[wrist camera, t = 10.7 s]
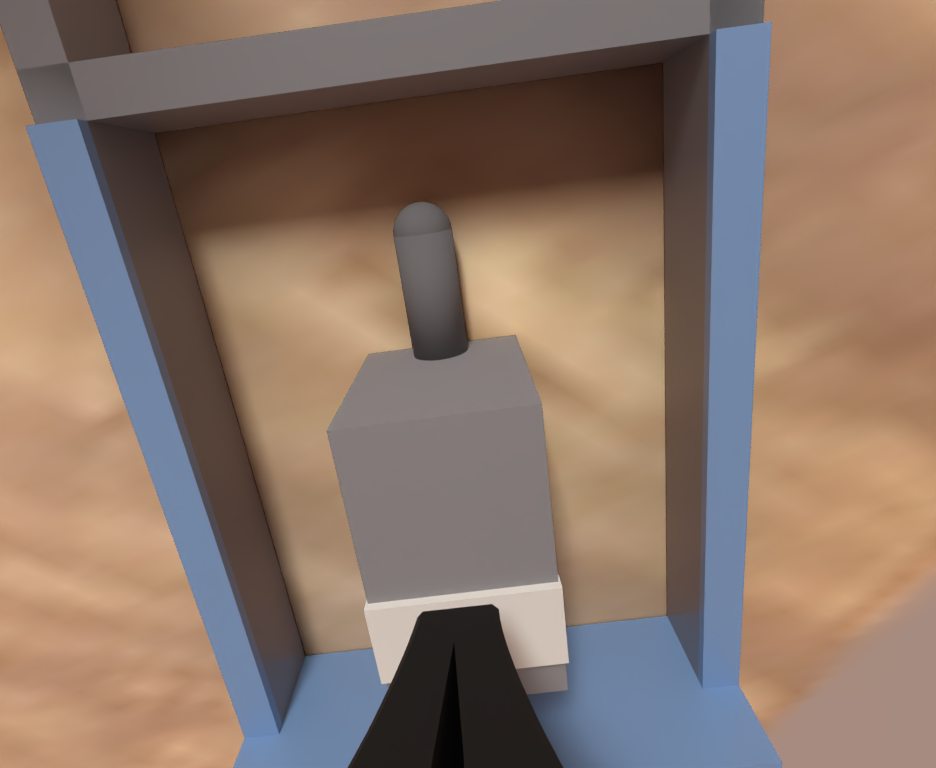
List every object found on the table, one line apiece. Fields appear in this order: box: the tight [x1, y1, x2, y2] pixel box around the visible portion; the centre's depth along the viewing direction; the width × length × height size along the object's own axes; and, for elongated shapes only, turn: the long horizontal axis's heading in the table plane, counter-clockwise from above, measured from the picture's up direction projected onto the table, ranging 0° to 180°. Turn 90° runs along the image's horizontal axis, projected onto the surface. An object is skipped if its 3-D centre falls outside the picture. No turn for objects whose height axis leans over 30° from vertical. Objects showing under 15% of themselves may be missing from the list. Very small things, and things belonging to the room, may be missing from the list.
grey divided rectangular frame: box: [0, 0, 782, 768], centre depth 11 cm, size 14×34×5 cm, turn 7°
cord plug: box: [327, 202, 569, 695], centre depth 13 cm, size 4×11×5 cm, turn 8°
